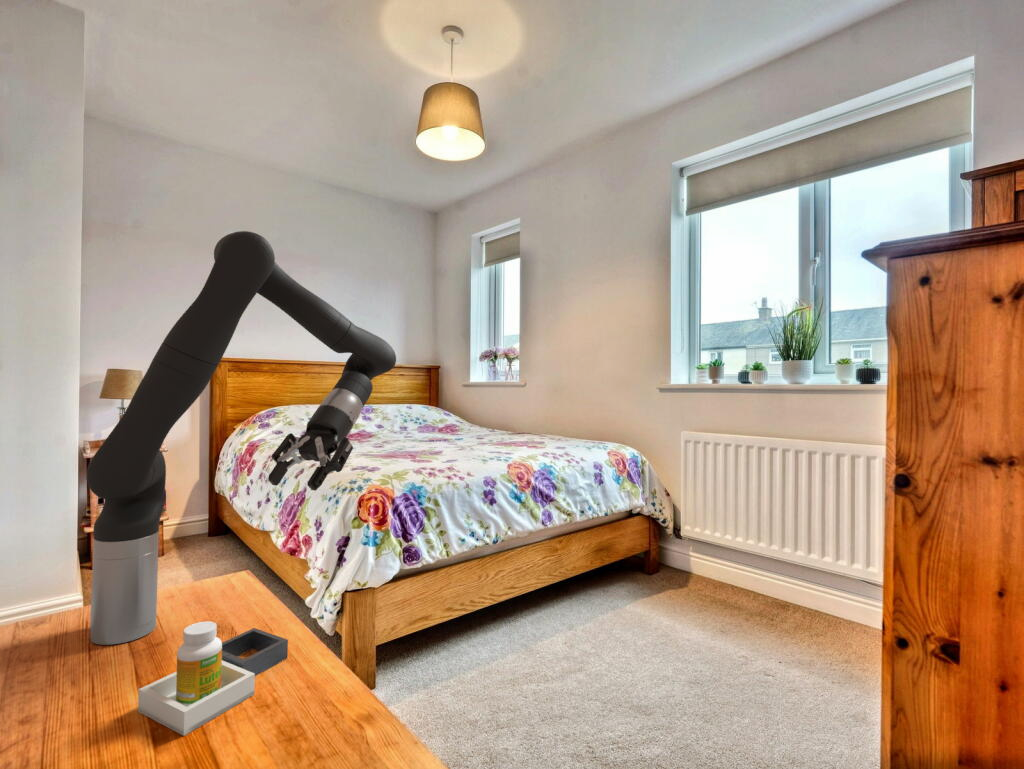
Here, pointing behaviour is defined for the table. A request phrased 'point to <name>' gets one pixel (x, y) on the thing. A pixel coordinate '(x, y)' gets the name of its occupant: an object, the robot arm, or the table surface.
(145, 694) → the tray
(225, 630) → the table surface
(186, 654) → the supplement bottle
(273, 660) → the holder sleeve
